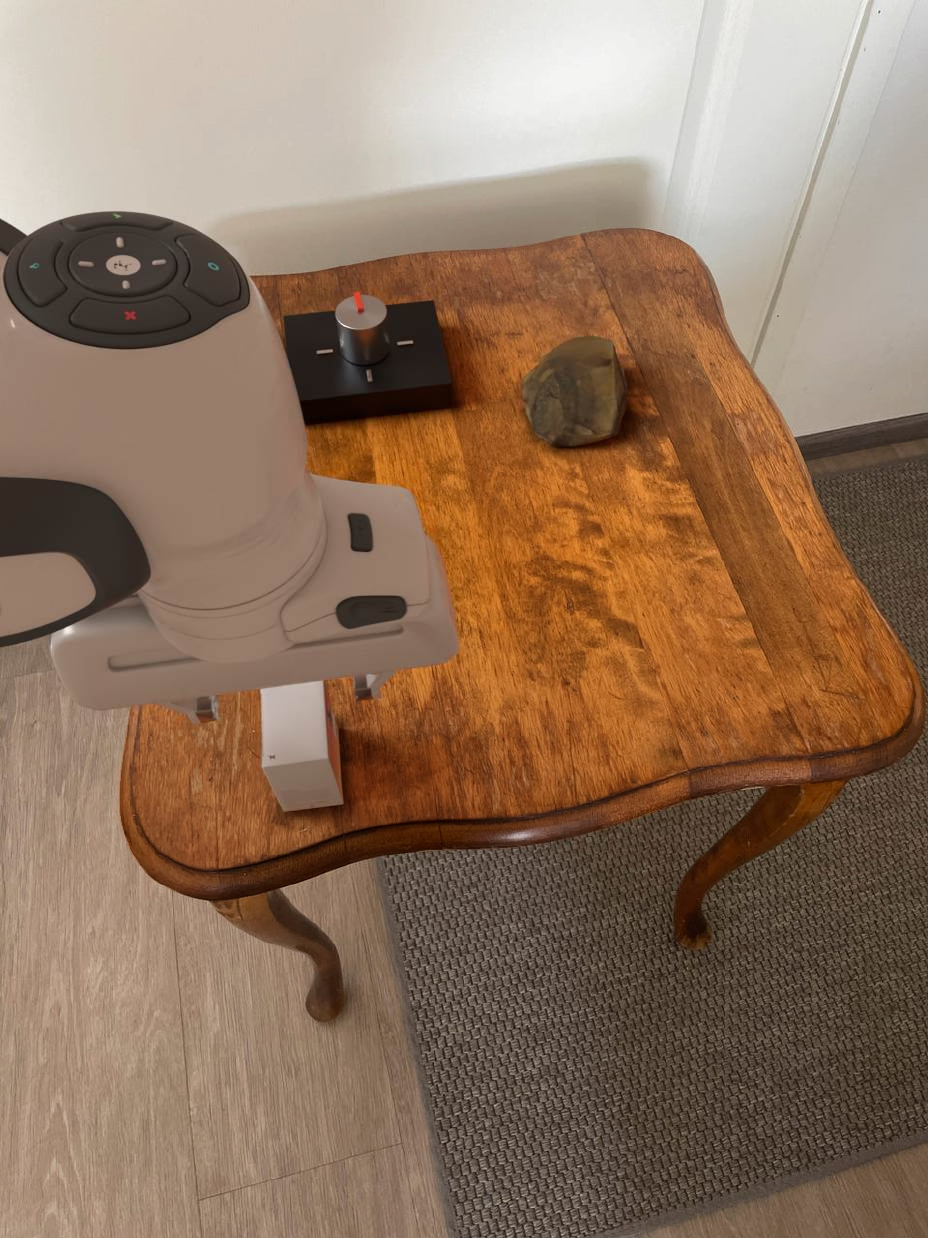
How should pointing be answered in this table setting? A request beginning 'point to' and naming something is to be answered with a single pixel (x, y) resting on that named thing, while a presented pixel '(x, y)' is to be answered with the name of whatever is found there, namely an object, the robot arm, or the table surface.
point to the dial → (363, 329)
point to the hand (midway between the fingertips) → (287, 700)
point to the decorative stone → (576, 392)
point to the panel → (369, 367)
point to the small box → (301, 746)
